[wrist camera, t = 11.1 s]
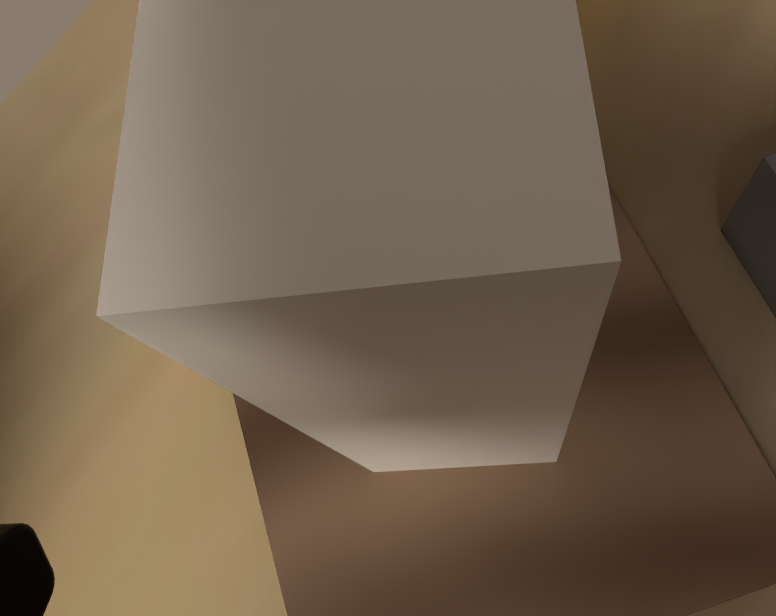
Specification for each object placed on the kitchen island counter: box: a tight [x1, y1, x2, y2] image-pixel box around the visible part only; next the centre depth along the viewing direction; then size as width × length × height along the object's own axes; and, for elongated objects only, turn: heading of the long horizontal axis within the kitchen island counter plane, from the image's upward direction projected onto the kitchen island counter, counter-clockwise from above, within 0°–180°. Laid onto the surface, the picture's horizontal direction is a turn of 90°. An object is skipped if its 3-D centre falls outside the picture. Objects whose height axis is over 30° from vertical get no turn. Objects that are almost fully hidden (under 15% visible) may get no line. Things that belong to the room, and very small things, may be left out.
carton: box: [96, 0, 621, 472], centre depth 13 cm, size 5×5×13 cm
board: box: [233, 184, 776, 616], centre depth 19 cm, size 15×13×1 cm
